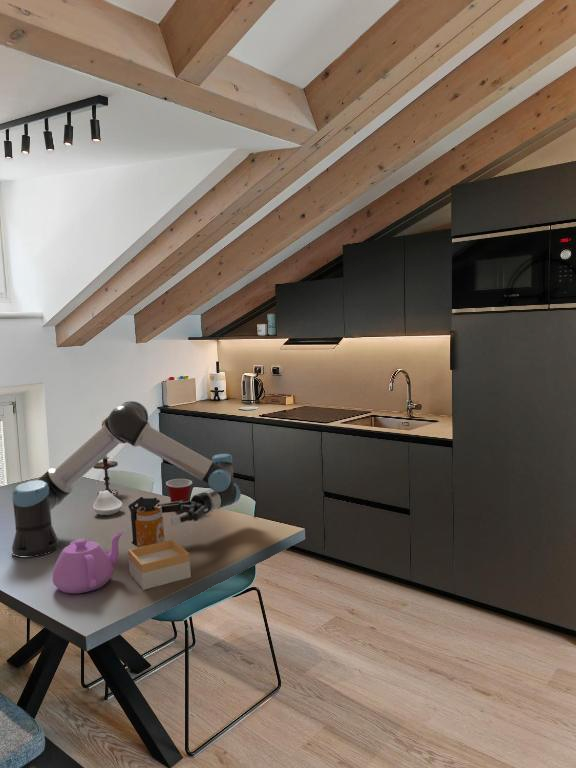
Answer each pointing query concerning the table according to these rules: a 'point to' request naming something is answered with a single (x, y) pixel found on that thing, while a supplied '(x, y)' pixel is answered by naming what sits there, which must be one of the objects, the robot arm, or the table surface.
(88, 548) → the teapot
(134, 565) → the orange-rimmed open box
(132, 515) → the canister
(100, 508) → the spoon rest
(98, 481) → the table surface
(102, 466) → the candlestick
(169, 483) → the plastic cup
